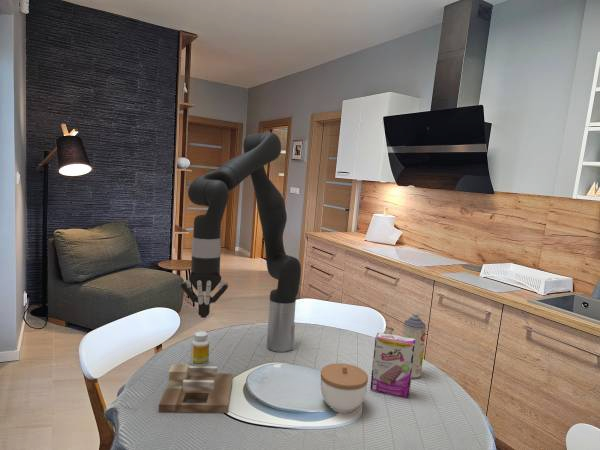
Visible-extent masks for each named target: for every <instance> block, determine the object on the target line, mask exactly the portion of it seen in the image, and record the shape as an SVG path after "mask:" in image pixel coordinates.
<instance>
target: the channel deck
mask: <svg viewBox="0 0 600 450" xmlns="http://www.w3.org/2000/svg"><path fill="white" fill-rule="evenodd" d="M233 376H234V375H233V373H218V366H216V365H215V366H212V365H210V366H208V365H204V366H195V365H189V376H188V380H183V386H168V384H167V385H166V388H165V390H164V393H163V394H162V397H161V399H160V401H159V403H158V413H191V414H192V413H195V414H196V413H197V414H199V413H200V414H201V413H205V414H206V413H208V414H211V413H213V414H216V413H217V414H218V413H219V414H220V413H221V414H228V413H229V408H230V400H231V394H232V386H233Z"/></svg>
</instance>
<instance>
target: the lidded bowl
mask: <svg viewBox="0 0 600 450" xmlns="http://www.w3.org/2000/svg"><path fill="white" fill-rule="evenodd" d="M368 381H369V375H368V373H367V372H366V371H365V370H364V369H363V368H360V367H359V366H355V365H353V364H348V363H340V362H339V363H338V362H337V363H330V364H327V365H325V366H324V367H322V368H321V370H320V392H321V396H322V398H323V400H324V401H325V403H326V404H327V405H328V407H329V406H330V407H332V408H333V409H334V410H333V411H334V412H336V413H339V414H349V413H352V412H353V411H354V410H356V409H357V408H358V407H359V406H360V405H361V404H362V402H364V399H365V397H366V394H367V393H366V392H367V387H368ZM330 407H329V408H330Z"/></svg>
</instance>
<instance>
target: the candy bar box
mask: <svg viewBox="0 0 600 450" xmlns="http://www.w3.org/2000/svg"><path fill="white" fill-rule="evenodd" d="M402 336H403V335H402ZM402 336H401V335H396V334H391V333H386V332H379V331H377V333H376V335H375V339H374V348H373V349H374V350H373V357H372V367H371V368H372V370H371V378H370V379H371V380H370V387H369V389H370V391H373V392H379V393H383V394H386V395H391V396H395V397H400V398H403V399H409V396H410V391H411V388H412V387H411V384H412V379H411V377H412V368H413V359H414V350H415V341H416V340H415V339H412V338H407V337H402Z"/></svg>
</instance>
